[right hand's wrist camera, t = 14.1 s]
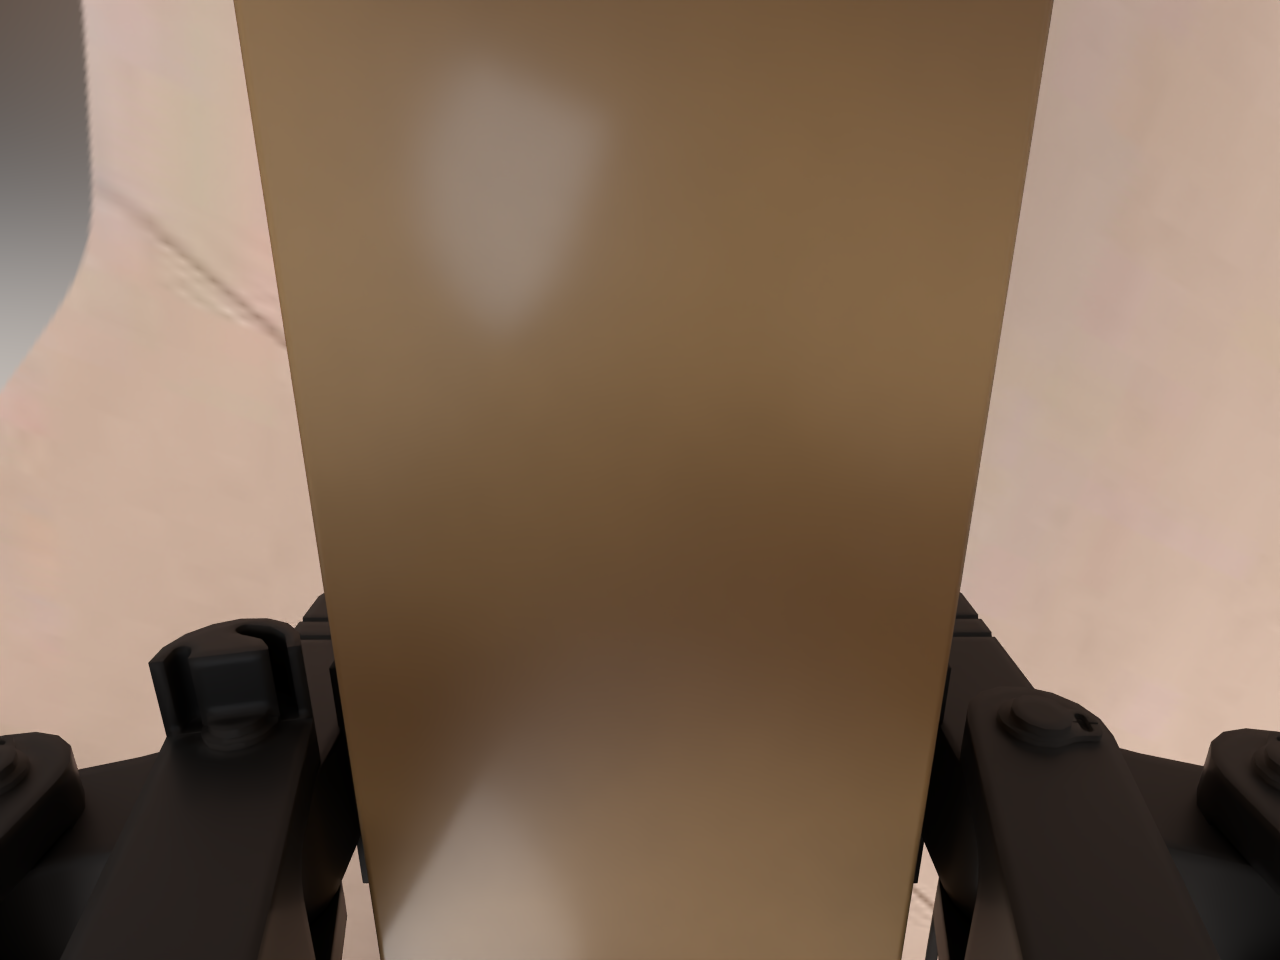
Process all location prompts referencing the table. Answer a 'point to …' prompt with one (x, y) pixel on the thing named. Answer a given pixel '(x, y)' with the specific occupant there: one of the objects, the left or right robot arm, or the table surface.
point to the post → (642, 444)
